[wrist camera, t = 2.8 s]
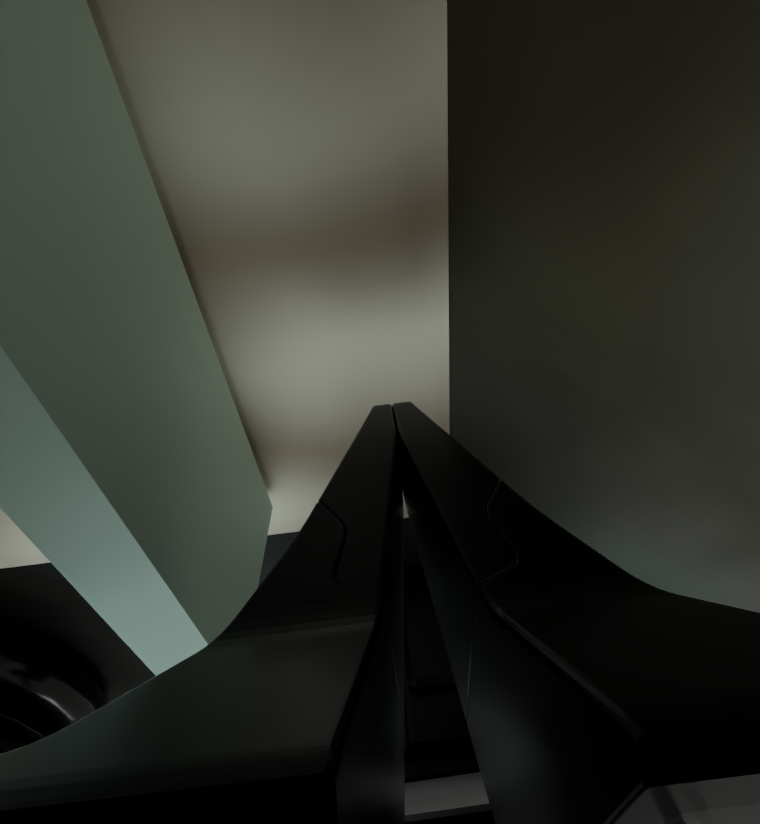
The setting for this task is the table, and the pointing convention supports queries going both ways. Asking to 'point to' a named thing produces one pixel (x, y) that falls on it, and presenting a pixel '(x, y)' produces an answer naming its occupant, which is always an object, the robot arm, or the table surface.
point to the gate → (111, 360)
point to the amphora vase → (40, 692)
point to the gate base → (298, 211)
